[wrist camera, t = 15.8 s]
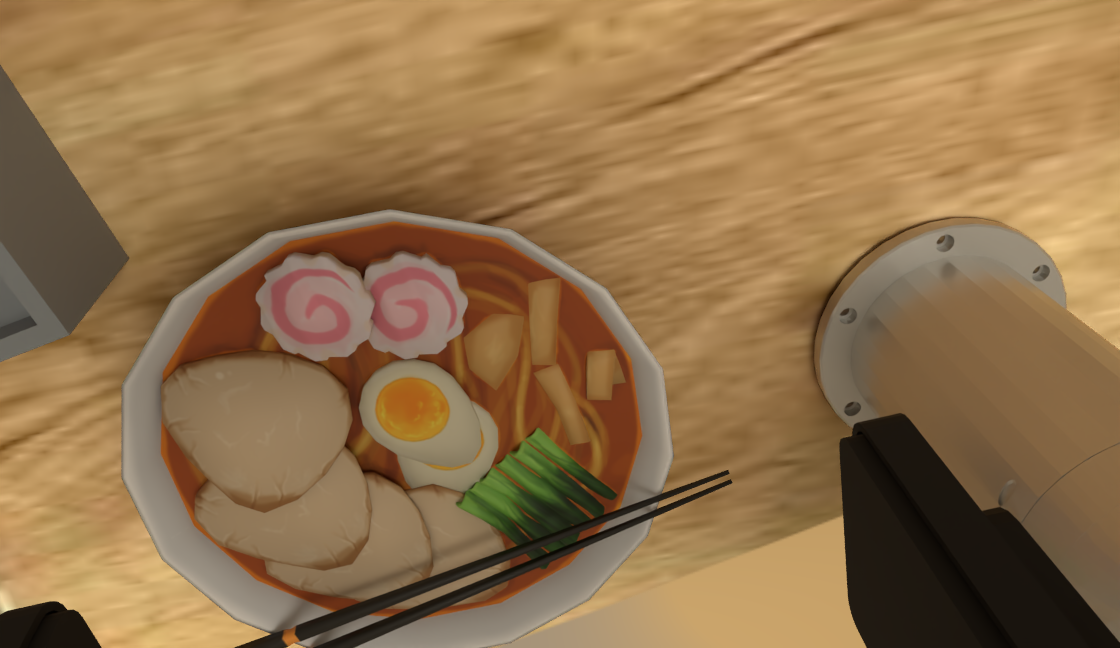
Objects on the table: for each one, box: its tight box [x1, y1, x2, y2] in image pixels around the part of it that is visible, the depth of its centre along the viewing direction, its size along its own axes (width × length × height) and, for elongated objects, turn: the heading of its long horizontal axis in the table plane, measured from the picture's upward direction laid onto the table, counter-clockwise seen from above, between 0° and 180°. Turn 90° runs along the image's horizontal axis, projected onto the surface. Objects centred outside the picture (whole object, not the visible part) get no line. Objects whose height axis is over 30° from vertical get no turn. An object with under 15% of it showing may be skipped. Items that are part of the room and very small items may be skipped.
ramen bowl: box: [122, 209, 732, 648], centre depth 41 cm, size 25×23×8 cm
